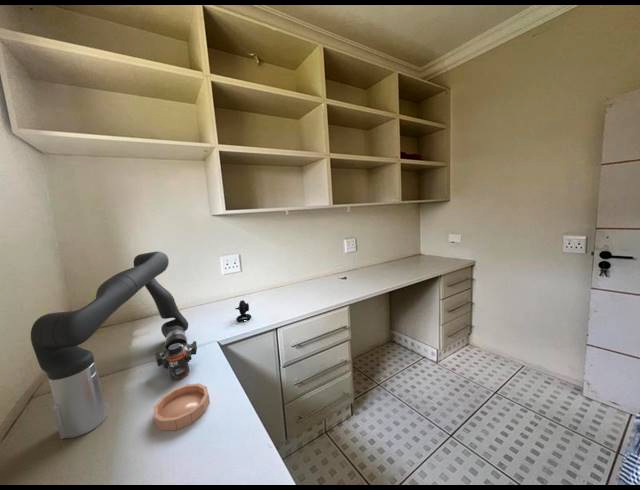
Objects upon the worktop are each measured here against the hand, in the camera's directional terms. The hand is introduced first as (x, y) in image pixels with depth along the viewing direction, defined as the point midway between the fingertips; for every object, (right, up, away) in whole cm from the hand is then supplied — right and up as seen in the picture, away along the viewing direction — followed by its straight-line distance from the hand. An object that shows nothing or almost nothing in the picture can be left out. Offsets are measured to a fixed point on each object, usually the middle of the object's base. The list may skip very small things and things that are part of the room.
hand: (177, 363), depth 88 cm
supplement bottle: (-1, -6, +3) cm, 7 cm away
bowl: (+9, -8, -13) cm, 18 cm away
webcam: (+9, +2, +46) cm, 47 cm away
